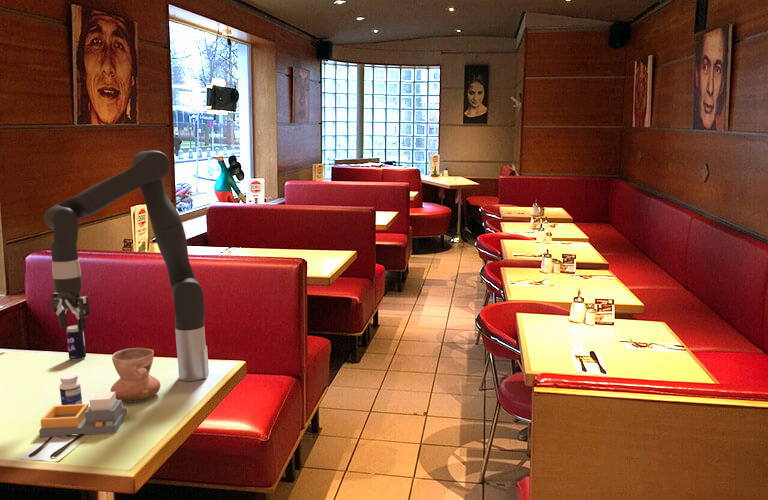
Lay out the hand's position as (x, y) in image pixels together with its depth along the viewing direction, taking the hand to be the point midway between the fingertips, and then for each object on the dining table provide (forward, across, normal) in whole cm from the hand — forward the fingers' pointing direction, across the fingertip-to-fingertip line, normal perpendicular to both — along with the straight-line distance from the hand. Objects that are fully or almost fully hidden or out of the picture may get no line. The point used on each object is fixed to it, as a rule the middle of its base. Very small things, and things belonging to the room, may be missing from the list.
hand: (72, 328), depth 208 cm
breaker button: (+19, -18, +5) cm, 27 cm away
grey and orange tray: (+24, -14, +9) cm, 29 cm away
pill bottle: (+24, +1, +2) cm, 24 cm away
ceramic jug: (+24, -9, -13) cm, 29 cm away
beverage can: (+24, +39, -27) cm, 53 cm away
